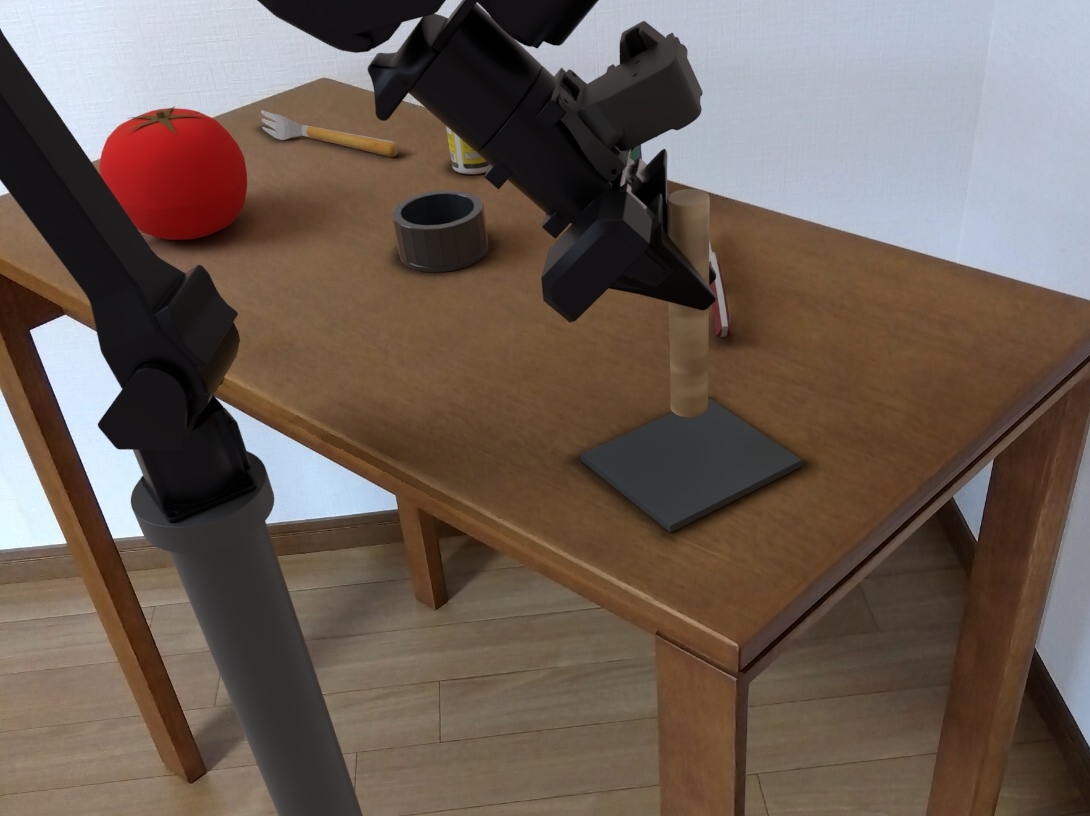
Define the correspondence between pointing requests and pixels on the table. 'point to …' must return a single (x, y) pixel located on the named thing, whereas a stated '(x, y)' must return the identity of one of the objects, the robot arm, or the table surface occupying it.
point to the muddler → (685, 323)
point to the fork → (327, 135)
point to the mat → (690, 464)
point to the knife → (719, 299)
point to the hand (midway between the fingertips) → (711, 293)
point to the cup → (440, 230)
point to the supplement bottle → (465, 156)
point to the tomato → (175, 173)
